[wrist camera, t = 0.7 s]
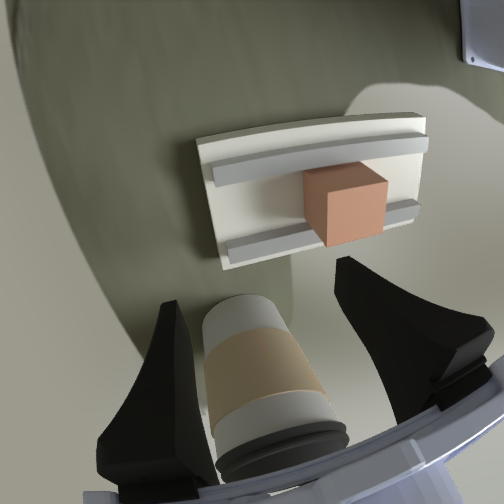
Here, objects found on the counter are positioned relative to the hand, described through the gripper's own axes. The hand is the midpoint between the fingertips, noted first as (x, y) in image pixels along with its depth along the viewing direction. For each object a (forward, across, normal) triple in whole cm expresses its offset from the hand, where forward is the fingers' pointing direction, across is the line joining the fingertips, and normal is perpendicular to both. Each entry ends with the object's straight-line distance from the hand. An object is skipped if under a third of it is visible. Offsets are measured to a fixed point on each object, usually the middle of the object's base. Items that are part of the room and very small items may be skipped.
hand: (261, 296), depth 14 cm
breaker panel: (+9, -7, 0) cm, 12 cm away
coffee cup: (+10, 0, +12) cm, 15 cm away
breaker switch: (+8, -7, 0) cm, 10 cm away
